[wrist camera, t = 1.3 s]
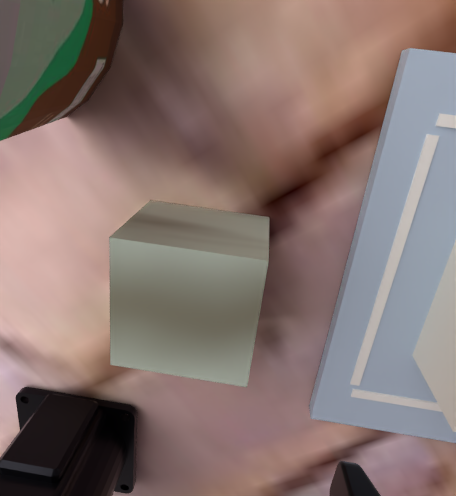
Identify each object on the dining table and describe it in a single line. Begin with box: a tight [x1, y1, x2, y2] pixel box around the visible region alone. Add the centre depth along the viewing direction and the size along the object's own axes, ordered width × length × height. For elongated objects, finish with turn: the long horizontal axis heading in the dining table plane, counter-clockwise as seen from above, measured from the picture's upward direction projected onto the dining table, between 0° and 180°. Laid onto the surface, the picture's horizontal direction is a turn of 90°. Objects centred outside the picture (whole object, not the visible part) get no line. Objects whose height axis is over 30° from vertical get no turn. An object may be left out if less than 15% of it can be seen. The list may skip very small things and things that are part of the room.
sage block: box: [109, 200, 269, 387], centre depth 15 cm, size 5×5×4 cm
